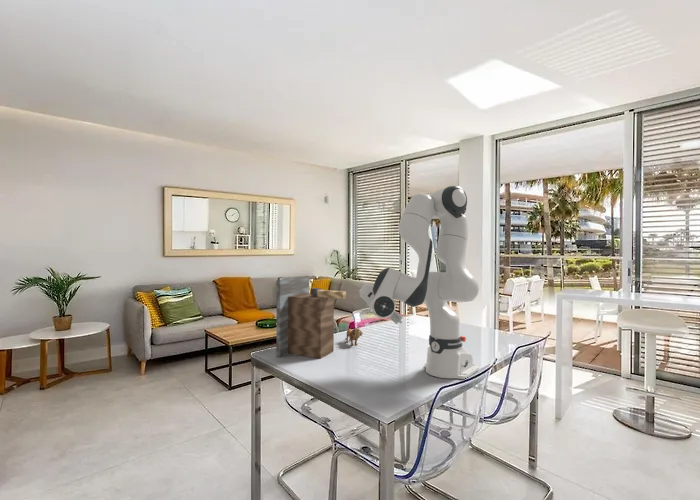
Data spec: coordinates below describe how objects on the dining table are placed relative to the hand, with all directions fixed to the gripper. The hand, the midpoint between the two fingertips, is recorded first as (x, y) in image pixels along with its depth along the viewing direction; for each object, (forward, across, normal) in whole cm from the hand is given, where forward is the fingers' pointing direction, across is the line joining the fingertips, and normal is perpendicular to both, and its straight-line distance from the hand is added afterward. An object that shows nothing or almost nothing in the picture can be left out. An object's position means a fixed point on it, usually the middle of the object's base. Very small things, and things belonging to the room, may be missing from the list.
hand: (379, 303), depth 155 cm
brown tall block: (+18, +9, +38) cm, 43 cm away
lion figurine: (+33, -5, +24) cm, 41 cm away
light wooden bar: (+11, +18, +13) cm, 25 cm away
